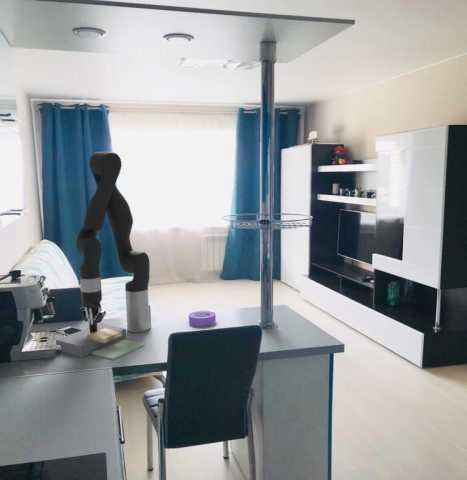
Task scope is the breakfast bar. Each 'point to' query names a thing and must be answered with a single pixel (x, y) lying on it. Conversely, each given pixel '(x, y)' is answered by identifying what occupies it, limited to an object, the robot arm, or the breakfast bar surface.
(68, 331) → the smartphone
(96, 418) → the breakfast bar surface
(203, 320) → the masking tape
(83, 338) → the gray rectangular box
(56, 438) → the breakfast bar surface
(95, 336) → the cork coaster
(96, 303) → the robot arm
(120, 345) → the sage mat
